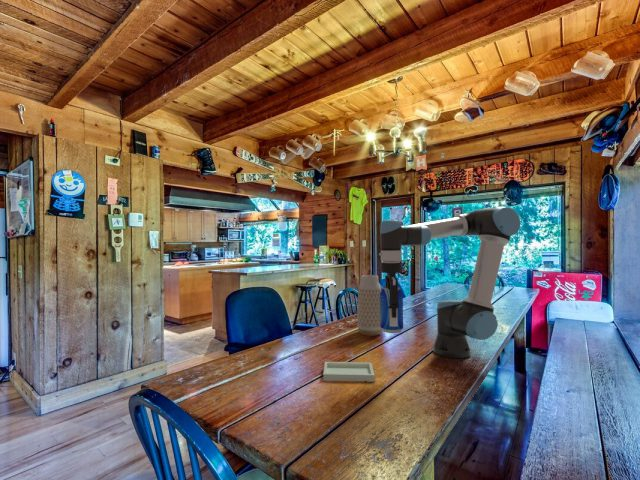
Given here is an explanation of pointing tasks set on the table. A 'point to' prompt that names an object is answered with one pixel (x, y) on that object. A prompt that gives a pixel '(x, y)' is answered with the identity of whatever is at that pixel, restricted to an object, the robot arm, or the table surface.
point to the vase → (369, 306)
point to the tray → (348, 371)
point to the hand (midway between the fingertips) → (391, 323)
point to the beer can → (386, 311)
